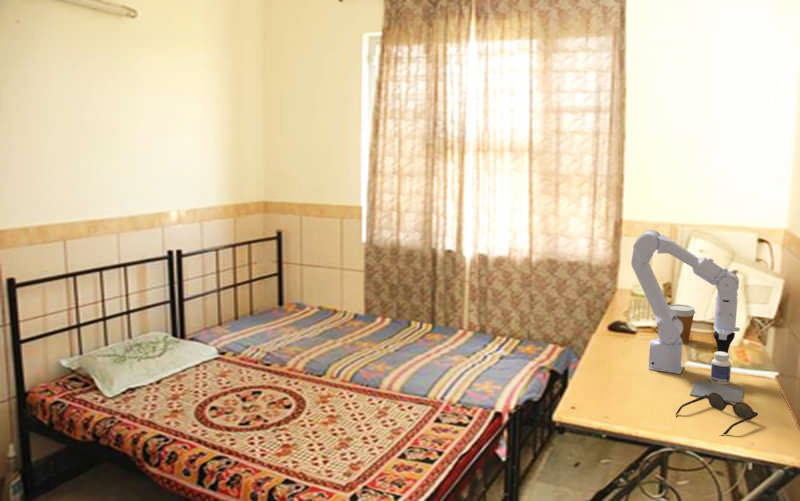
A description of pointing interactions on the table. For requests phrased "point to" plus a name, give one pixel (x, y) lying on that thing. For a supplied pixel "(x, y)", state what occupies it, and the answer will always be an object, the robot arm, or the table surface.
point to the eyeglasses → (719, 403)
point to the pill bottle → (720, 368)
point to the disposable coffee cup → (684, 319)
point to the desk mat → (717, 391)
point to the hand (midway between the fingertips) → (722, 356)
